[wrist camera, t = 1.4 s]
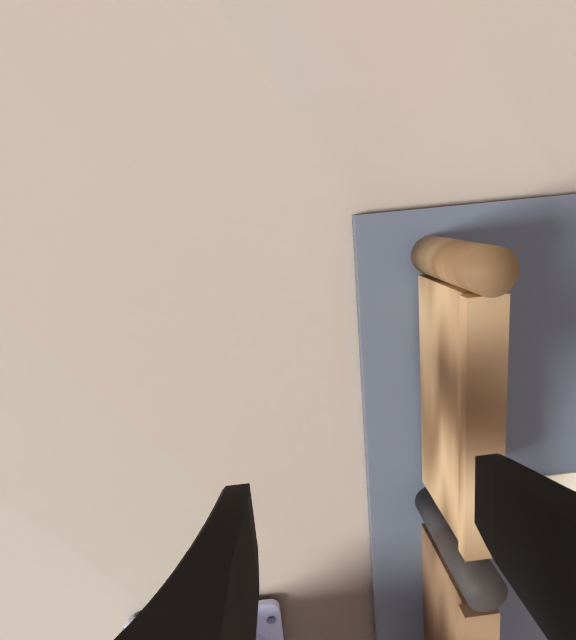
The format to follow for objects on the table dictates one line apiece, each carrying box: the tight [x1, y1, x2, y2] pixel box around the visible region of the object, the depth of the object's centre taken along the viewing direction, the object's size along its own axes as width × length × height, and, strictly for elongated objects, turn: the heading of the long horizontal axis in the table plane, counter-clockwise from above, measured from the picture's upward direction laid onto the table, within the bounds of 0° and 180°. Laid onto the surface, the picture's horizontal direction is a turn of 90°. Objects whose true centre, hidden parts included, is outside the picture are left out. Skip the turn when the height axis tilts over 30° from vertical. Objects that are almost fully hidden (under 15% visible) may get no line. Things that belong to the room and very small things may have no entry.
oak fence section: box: [411, 236, 519, 562], centre depth 17 cm, size 12×2×5 cm, turn 5°
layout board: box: [352, 194, 576, 640], centre depth 23 cm, size 28×16×1 cm, turn 5°
